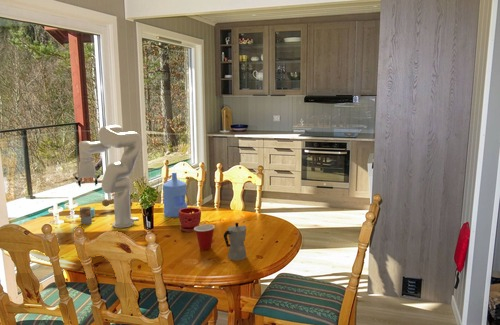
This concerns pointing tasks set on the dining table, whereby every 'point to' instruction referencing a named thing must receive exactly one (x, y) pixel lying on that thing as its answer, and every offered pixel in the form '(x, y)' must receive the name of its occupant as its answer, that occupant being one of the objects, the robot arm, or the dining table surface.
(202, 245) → the plastic cup
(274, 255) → the dining table surface
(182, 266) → the dining table surface
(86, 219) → the base block
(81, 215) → the walnut block
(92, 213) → the teal block
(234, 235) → the coffeepot
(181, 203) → the water jug
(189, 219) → the plant pot
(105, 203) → the toy helicopter
